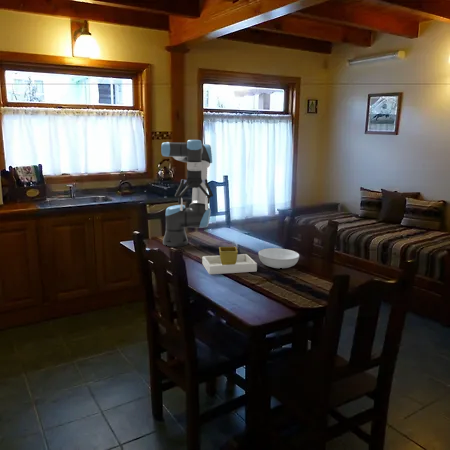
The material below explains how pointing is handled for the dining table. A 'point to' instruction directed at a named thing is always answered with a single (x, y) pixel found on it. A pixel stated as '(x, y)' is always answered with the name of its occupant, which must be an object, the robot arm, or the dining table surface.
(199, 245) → the dining table surface
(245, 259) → the tray
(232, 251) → the flower pot
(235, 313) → the dining table surface
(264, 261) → the serving bowl
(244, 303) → the dining table surface
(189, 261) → the dining table surface
